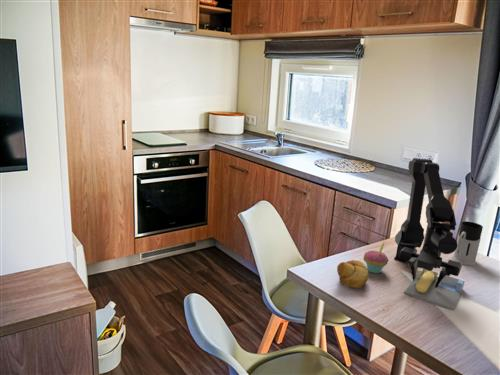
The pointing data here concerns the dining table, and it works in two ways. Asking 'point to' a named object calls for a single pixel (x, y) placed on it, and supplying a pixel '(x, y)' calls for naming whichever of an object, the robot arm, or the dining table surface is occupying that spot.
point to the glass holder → (468, 243)
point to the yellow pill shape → (425, 282)
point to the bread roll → (352, 273)
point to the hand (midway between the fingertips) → (424, 283)
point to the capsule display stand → (438, 289)
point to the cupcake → (375, 260)
